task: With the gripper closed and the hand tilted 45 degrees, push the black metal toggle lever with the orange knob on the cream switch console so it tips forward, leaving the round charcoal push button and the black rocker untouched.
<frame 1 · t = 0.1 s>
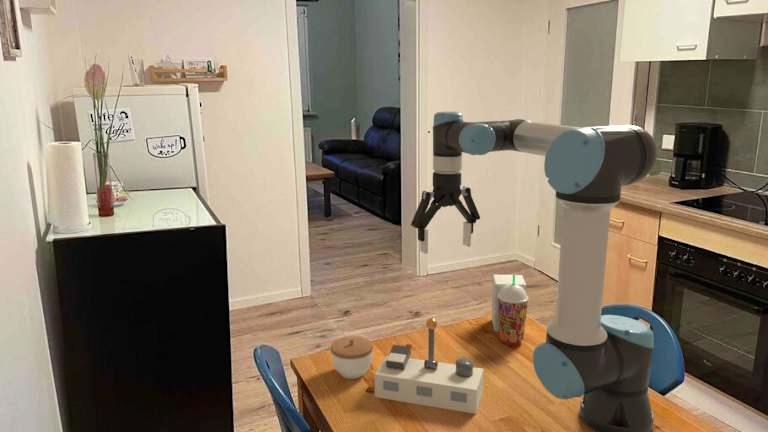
hand: (445, 248, 160), 28 cm above the table, tool pointing down, fingers open, 13 cm apart
rocker: (398, 356, 143), point 8 cm above the table, hinge at -12.0°
smoothie: (510, 342, 168), on the table
console: (429, 394, 141), on the table
lever: (431, 343, 139), point 12 cm above the table, hinge at 0.0°
lidded jar: (352, 373, 151), on the table
supplement box: (507, 326, 178), on the table
button: (464, 367, 138), point 7 cm above the table, slide at 0.0 cm
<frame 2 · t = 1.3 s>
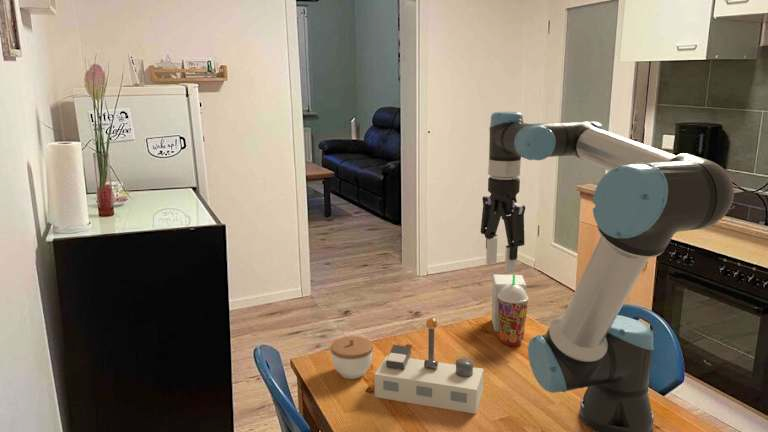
hand: (500, 267, 148), 27 cm above the table, tool pointing down, fingers open, 7 cm apart
nothing on the table moved.
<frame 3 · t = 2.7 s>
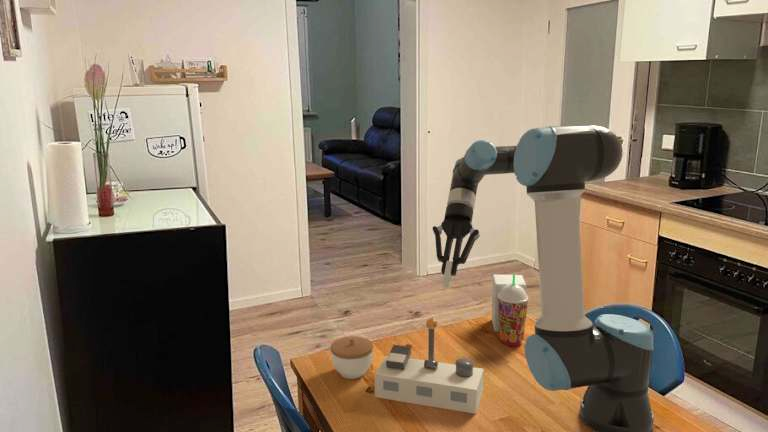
hand: (446, 285, 152), 21 cm above the table, tool tilted 45°, fingers closed
nothing on the table moved.
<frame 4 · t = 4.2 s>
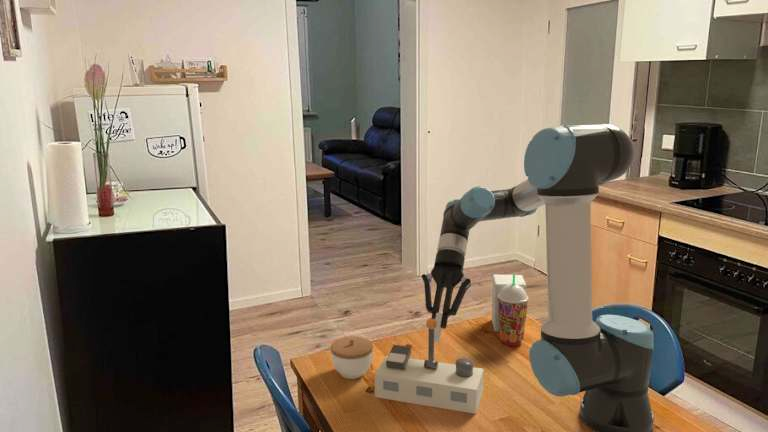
hand: (435, 339, 144), 11 cm above the table, tool tilted 45°, fingers closed
nothing on the table moved.
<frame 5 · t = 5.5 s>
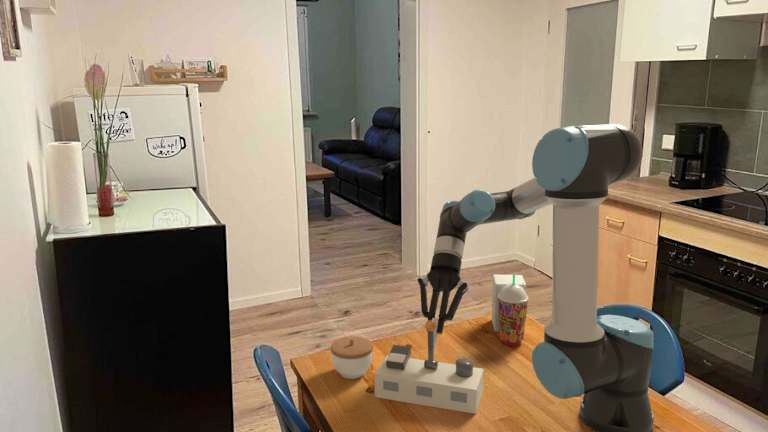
hand: (431, 345, 141), 11 cm above the table, tool tilted 45°, fingers closed
lever: (430, 344, 139), point 12 cm above the table, hinge at 5.8°, touching gripper
everything else where it was.
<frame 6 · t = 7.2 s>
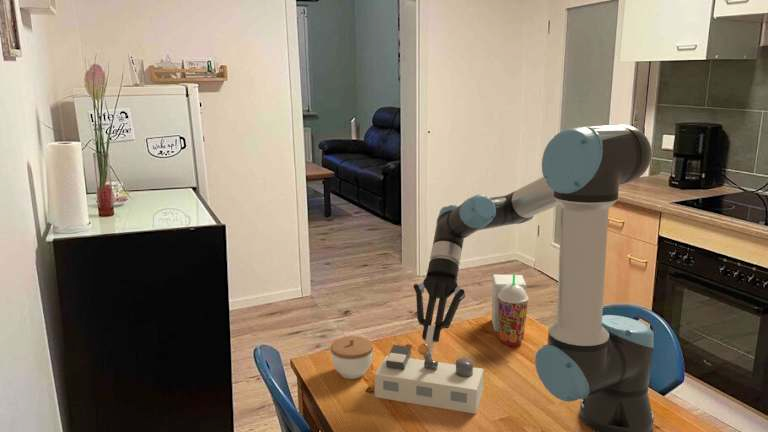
hand: (427, 354, 137), 11 cm above the table, tool tilted 45°, fingers closed
lever: (427, 356, 136), point 11 cm above the table, hinge at 44.7°, touching gripper
everything else where it was.
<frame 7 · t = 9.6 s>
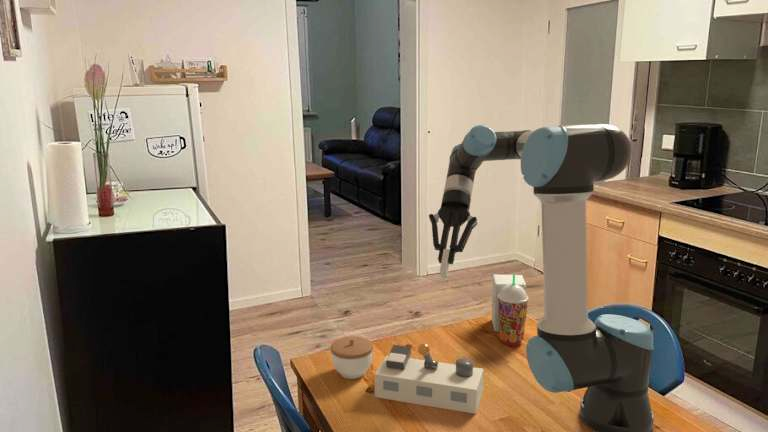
hand: (443, 274, 147), 26 cm above the table, tool tilted 45°, fingers closed
lever: (427, 356, 136), point 11 cm above the table, hinge at 44.8°
everything else where it was.
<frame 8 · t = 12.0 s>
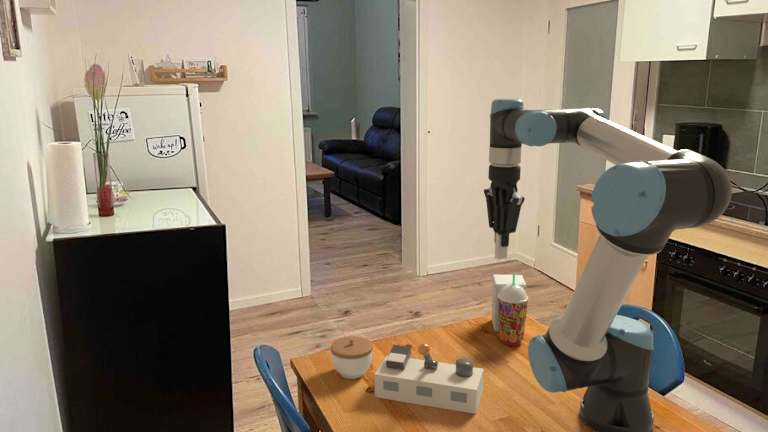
hand: (500, 257, 147), 29 cm above the table, tool pointing down, fingers closed
nothing on the table moved.
at the end: lever at +45° (first picture: +0°); button slide at 0.0 cm; rocker at -12° (first picture: -12°) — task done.
